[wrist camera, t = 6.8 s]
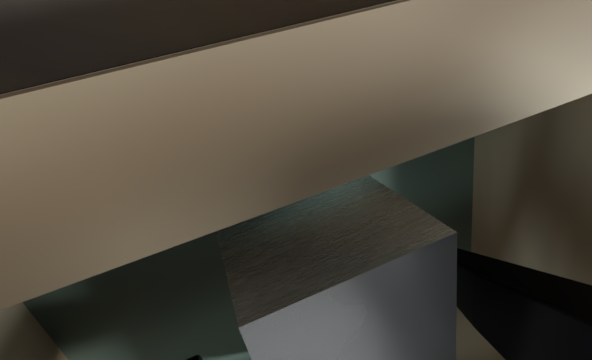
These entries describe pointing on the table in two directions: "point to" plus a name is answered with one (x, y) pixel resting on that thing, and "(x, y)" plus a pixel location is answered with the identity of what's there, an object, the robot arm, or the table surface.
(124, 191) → the well
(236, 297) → the grey rectangular block
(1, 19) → the table surface
